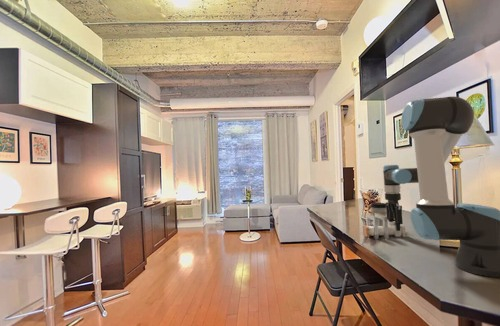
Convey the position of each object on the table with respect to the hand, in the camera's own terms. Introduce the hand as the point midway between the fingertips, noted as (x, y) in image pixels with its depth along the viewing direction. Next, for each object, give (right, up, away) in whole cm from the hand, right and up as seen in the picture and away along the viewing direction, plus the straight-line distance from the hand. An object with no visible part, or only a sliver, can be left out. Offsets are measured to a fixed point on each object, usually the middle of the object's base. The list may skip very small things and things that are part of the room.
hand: (395, 234), depth 131 cm
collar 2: (-7, -1, +1) cm, 7 cm away
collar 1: (-12, -1, +1) cm, 12 cm away
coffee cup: (+1, -1, +17) cm, 17 cm away
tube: (-6, -1, +1) cm, 6 cm away
